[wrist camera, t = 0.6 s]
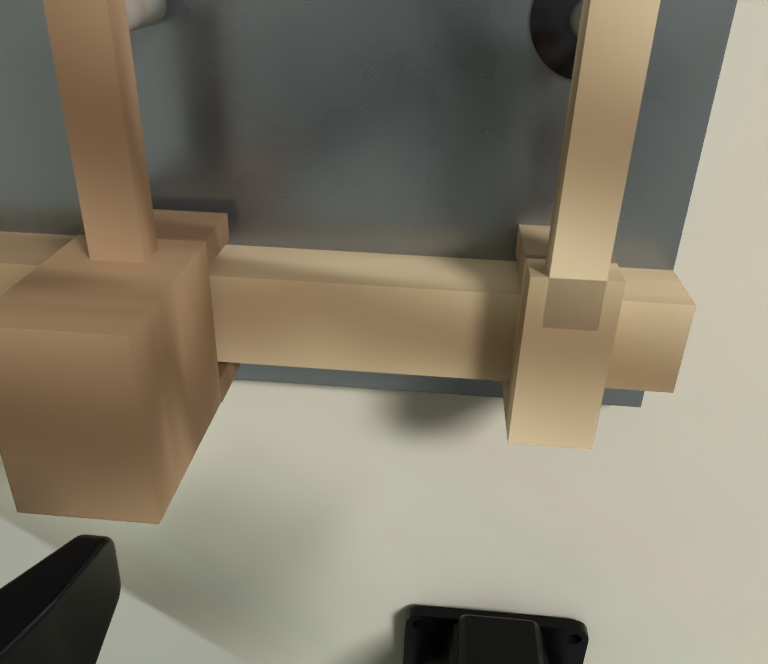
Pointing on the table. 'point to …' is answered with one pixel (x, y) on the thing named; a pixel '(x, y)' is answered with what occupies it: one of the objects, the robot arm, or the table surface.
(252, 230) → the steel plate
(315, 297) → the compass bar
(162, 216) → the slider leg
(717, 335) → the table surface
